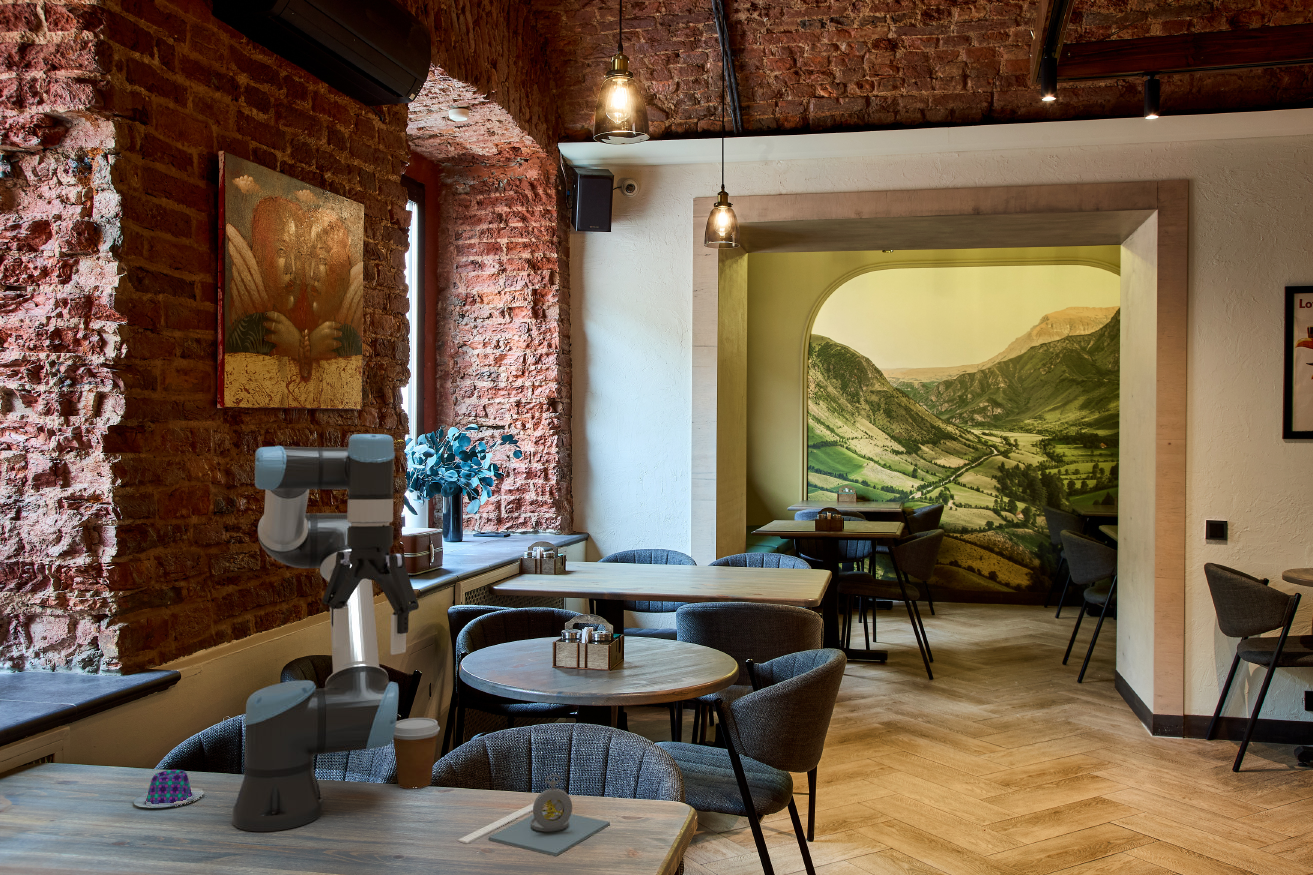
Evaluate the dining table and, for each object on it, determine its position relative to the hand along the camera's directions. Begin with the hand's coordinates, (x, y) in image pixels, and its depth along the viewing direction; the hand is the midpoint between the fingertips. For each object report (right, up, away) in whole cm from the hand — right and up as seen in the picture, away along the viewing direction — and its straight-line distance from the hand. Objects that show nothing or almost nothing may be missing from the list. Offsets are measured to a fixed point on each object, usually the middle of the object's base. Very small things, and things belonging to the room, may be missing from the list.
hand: (368, 649), depth 162 cm
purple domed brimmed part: (-44, -33, +19) cm, 58 cm away
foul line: (+22, -32, +7) cm, 39 cm away
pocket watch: (+31, -32, +2) cm, 44 cm away
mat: (+31, -32, +2) cm, 44 cm away
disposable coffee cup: (+1, -33, +28) cm, 43 cm away
